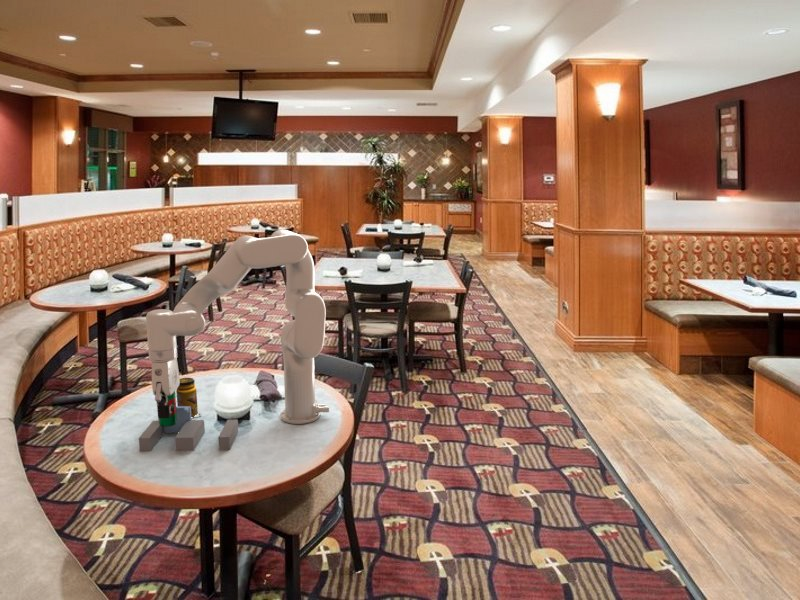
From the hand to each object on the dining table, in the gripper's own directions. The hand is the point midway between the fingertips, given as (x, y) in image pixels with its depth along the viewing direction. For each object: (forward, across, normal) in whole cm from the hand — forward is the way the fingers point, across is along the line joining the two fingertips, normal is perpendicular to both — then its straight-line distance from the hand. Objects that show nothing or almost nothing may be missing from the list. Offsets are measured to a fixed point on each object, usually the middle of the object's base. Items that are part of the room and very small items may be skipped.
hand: (167, 413), depth 178 cm
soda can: (+4, 0, 0) cm, 4 cm away
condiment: (+9, +19, +1) cm, 21 cm away
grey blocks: (+9, 0, -6) cm, 11 cm away
